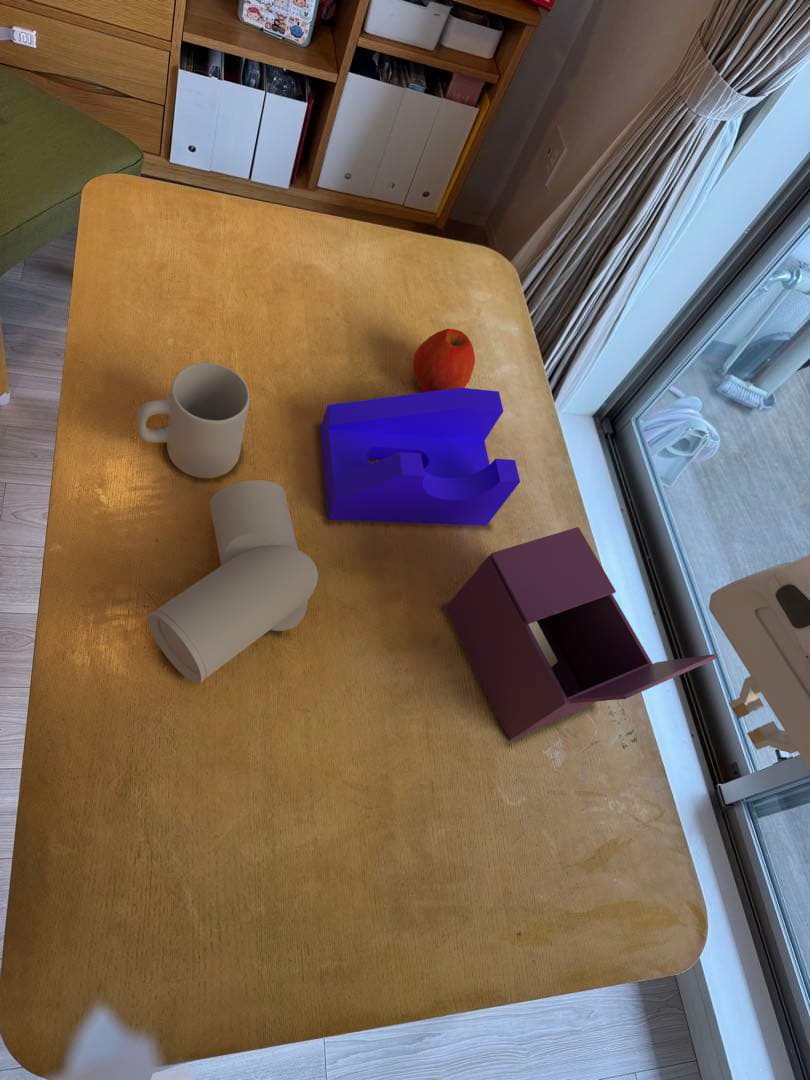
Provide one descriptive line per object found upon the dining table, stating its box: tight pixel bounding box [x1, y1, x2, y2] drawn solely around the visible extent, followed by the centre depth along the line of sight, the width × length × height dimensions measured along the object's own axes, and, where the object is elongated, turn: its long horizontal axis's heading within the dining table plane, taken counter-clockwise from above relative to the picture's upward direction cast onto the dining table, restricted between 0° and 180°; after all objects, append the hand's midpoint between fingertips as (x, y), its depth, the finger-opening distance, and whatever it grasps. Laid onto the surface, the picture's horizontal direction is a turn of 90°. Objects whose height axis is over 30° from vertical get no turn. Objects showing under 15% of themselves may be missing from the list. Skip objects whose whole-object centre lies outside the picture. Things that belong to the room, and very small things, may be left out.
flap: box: [569, 653, 719, 704], centre depth 74 cm, size 8×12×1 cm
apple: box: [412, 328, 476, 392], centre depth 105 cm, size 8×8×11 cm
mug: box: [136, 362, 251, 479], centre depth 88 cm, size 12×8×11 cm
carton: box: [444, 526, 653, 741], centre depth 86 cm, size 17×12×14 cm
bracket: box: [319, 387, 521, 526], centre depth 96 cm, size 21×14×10 cm, turn 98°
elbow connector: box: [147, 479, 319, 684], centre depth 81 cm, size 18×11×20 cm
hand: (747, 723), depth 64 cm, fingers closed
